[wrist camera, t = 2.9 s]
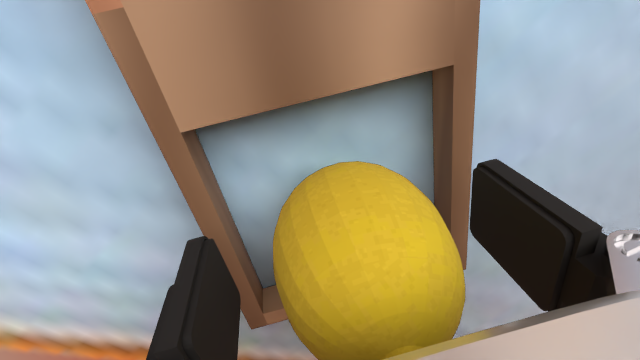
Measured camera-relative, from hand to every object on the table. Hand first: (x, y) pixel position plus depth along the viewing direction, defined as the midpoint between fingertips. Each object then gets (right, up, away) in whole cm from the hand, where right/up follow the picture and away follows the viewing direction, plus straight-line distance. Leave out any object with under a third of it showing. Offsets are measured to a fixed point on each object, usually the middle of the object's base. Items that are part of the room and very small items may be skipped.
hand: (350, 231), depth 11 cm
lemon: (-1, +1, +3) cm, 3 cm away
